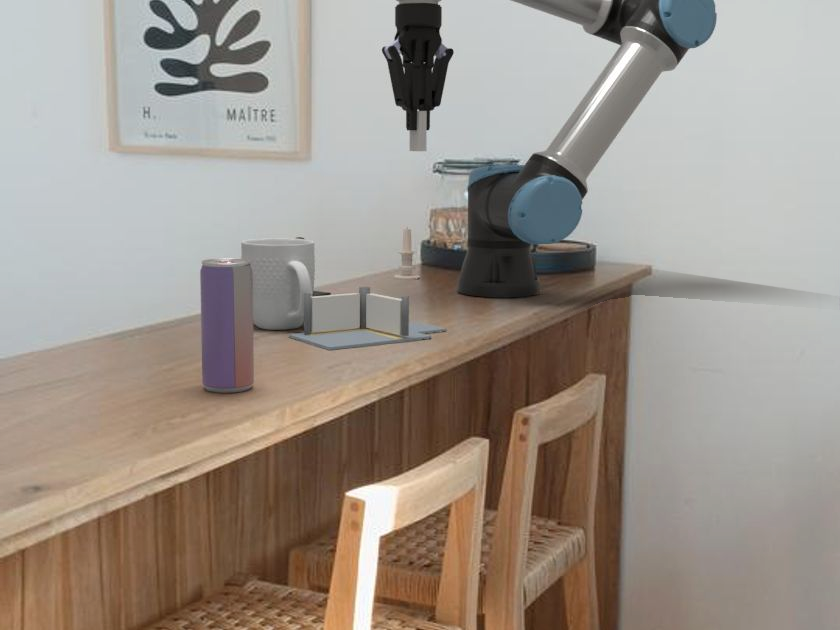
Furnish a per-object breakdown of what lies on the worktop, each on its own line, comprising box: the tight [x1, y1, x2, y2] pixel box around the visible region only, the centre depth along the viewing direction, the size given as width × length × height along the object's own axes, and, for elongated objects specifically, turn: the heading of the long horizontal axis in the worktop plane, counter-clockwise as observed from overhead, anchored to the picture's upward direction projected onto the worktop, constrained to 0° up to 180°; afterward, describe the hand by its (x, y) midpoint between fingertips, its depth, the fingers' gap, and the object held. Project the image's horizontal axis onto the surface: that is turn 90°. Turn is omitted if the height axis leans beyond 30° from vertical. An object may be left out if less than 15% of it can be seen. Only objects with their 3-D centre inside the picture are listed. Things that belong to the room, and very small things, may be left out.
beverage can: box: [199, 257, 255, 394], centre depth 140 cm, size 6×6×15 cm
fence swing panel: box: [366, 293, 410, 336], centre depth 176 cm, size 9×1×6 cm, turn 40°
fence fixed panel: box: [303, 286, 371, 335], centre depth 177 cm, size 11×2×7 cm, turn 124°
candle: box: [393, 227, 421, 281], centre depth 241 cm, size 5×5×10 cm
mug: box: [240, 237, 316, 331], centre depth 181 cm, size 15×11×13 cm
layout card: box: [288, 321, 448, 351], centre depth 177 cm, size 22×12×1 cm, turn 124°
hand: (417, 150), depth 199 cm, fingers closed
